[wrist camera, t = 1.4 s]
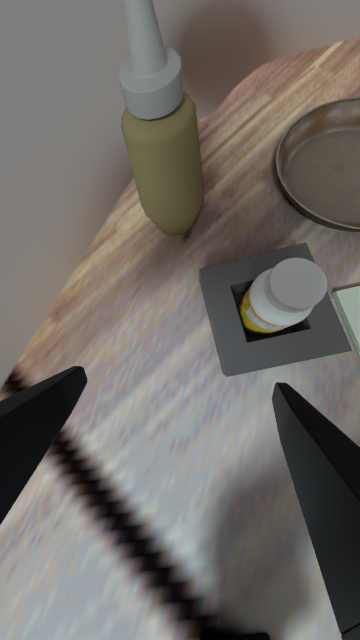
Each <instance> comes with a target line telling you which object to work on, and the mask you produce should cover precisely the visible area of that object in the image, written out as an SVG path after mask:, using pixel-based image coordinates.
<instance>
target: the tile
mask: <svg viewBox="0 0 360 640" xmlns="http://www.w3.org/2000/svg"><path fill="white" fill-rule="evenodd" d="M332 294H333V296H334V299H335V301H336V303H337V306H338V308H339V310H340V313H341V315H342V317H343V320H344V322H345V324H346V327H347V329H348V331H349V334H350V336H351V338H352V340H353V343H354V345H355V347H356V350H357V352H358V354H359V357H360V286H357V287H352V288H348V289H344V290H339V291H335V292H333V293H332Z"/></svg>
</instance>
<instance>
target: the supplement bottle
mask: <svg viewBox="0 0 360 640" xmlns="http://www.w3.org/2000/svg"><path fill="white" fill-rule="evenodd" d="M326 291H327V279H326V276H325V274H324V272H323V271H322V270H321V268H320V267H319V266H318V265H316V264H315V263H313V262H312V261H309V260H307V259H303V258H290V259H286V260H284V261H282V262H280V263H278V264H277V265H276V266H275V267H274V268H272V269H269V270H266V271H265V272H263V273H261V274H260V275H259V276H258V277H257V278H256V279H255V280H254V282H253V283H252V285H251V286H250V288H249V290H248V291H247V292H246V294H245V295H244V297H243V298H242V300H241V302H240V303H239V306H238V310H237V311H238V314H239V317H240V321H241V324H242V327H243V328H244V329H245V330H246V331H247V332H249V333H251V334H254V335H260V336H263V335H269V334H272V333H274V332H277V331H279V330H282V329H284V328H287V327H289V326H292V325H294V324H296V323H299V322H300V321H302V320H304V319H305V318H306V317H307V316H308V315H309V314H310V313H311V311H312V309H313V307H314V305H316V304H318V303H319V302H320V301H321V300H322V299H323V298H324V296H325V294H326Z"/></svg>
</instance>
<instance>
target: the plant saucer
mask: <svg viewBox="0 0 360 640" xmlns="http://www.w3.org/2000/svg"><path fill="white" fill-rule="evenodd" d="M276 167H277V173H278V177H279V181H280V184H281V186H282V188H283V191H284V193H285V194H286V196H287V197H288V199H289V200H290V202H291V203H292V204H293V205H294V206H295V207H296V208H297V209H298V210H299V211H300V212H301V213H302V214H304V215H305V216H307V217H308V218H310V219H311V220H313V221H315V222H317V223H319V224H322V225H325V226H327V227H331V228H334V229H338V230H343V231H351V232H360V97H352V98H351V97H350V98H343V99H339V100H335V101H332V102H328V103H325V104H322V105H320V106H317V107H315V108H313V109H311V110H310V111H308V112H306V113H305V114H303V115H302V116H300V117H299V118H298V119H297V120H296V121H295V122H293V123H292V125H291V126H290V127H289V128H288V129H287V130H286V132H285V133H284V135H283V137H282V139H281V141H280V143H279V146H278V149H277V154H276Z"/></svg>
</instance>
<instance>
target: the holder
mask: <svg viewBox="0 0 360 640" xmlns="http://www.w3.org/2000/svg"><path fill="white" fill-rule="evenodd" d="M290 258H303V259H307V260H309V261H312V262H313V263H315V262H314V260H313V258H312V255H311V253H310V251H309V248H308V246H307V243H302V244H298V245H294V246H290V247H286V248H282V249H278V250H274V251H270V252H266V253H262V254H258V255H254V256H250V257H246V258H242V259H238V260H234V261H230V262H226V263H222V264H218V265H214V266H210V267H206V268H202V269H199V281H200V286H201V290H202V293H203V297H204V301H205V305H206V309H207V313H208V317H209V321H210V325H211V329H212V332H213V336H214V340H215V344H216V348H217V352H218V356H219V360H220V364H221V368H222V372H223V374H224V375H225V376H227V377H228V376H233V375H238V374H243V373H247V372H252V371H257V370H262V369H267V368H271V367H276V366H281V365H286V364H290V363H295V362H300V361H305V360H309V359H314V358H319V357H324V356H328V355H333V354H338V353H343V352H347V351H352V349H351V347H350V345H349V342H348V340H347V337H346V335H345V333H344V330H343V328H342V326H341V323H340V321H339V319H338V316H337V314H336V312H335V309H334V307H333V305H332V302H331V300H330V298H329V295H328V293H327V291H326V294H325V296H324V298H323V299H322V300H321V301H320V302H319V303H318V304H316V305H314V307H313V309H312V311H311V313H310V314H309V315H308V316H307V317H306V318H305V319H304V320H302V321H300V322H299V323H296V324H294V325H292V329H293V332H294V333H290V334H285V335H281V336H276V337H272V338H267V339H262V340H258V341H253V342H249V343H247V341H246V337H245V334H244V331H243V327H242V324H241V321H240V317H239V314H238V311H237V307H236V304H235V300H234V297H233V295H234V294H238V293H242V292H246V291H248V290H249V288H250V286H251V285H252V283H253V282H254V280H255V279H256V278H257V277H258V276H259V275H260V274H261V273H263V272H265V271H266V270H269V269H272V268H274V267H275V266H276V265H277V264H278V263H280V262H282V261H284V260H286V259H290Z"/></svg>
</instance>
